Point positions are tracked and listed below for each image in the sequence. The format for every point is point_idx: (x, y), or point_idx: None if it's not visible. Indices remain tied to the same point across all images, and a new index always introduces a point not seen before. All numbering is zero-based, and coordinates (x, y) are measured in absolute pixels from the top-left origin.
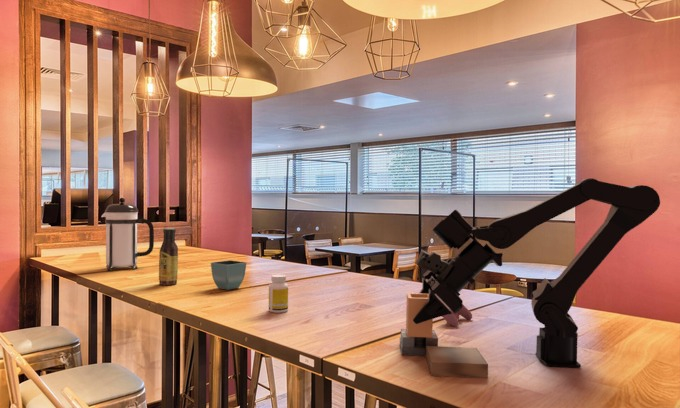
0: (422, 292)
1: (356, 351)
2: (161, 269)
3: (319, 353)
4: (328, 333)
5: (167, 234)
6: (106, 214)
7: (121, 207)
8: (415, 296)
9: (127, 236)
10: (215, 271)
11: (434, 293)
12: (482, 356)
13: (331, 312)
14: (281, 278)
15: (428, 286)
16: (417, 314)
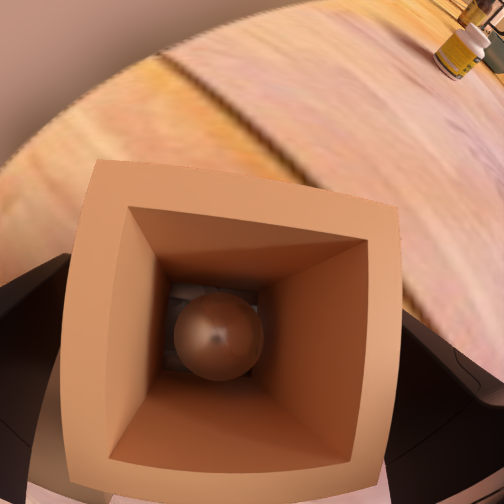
0: (458, 395)
1: (198, 116)
2: (465, 9)
3: (191, 50)
4: (350, 88)
5: None
6: None
7: None
8: (351, 314)
9: (492, 6)
10: (489, 37)
11: (434, 488)
12: (29, 480)
13: (479, 145)
14: (475, 32)
15: (495, 456)
16: (29, 272)
